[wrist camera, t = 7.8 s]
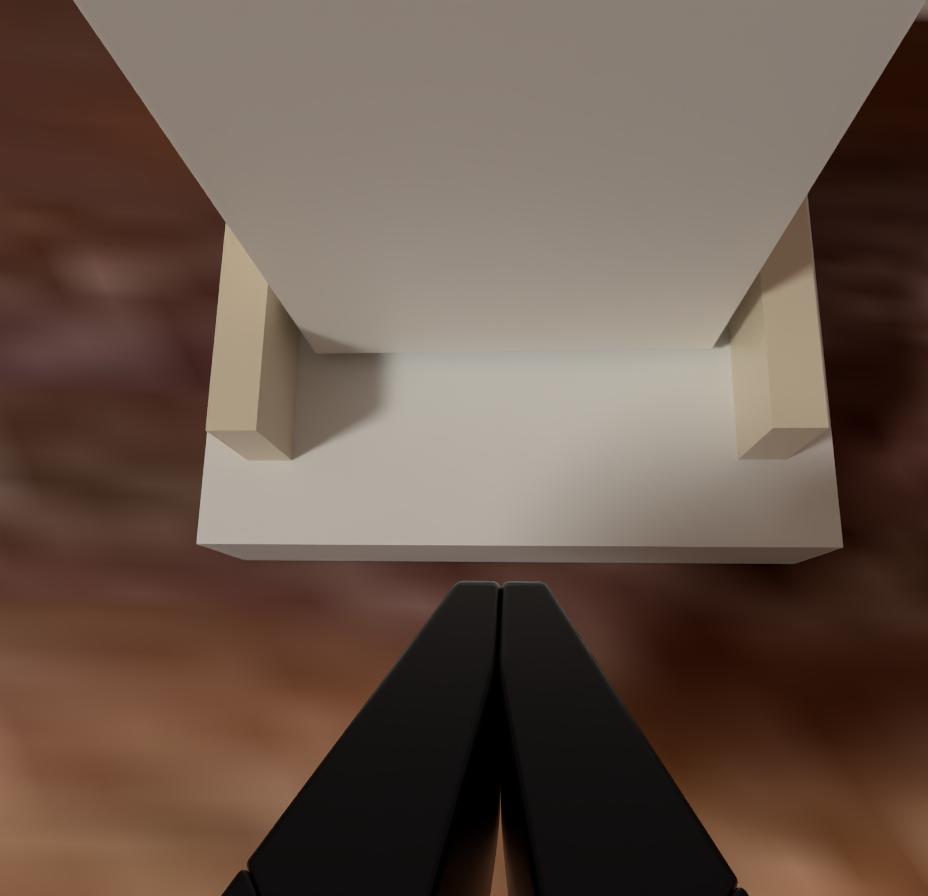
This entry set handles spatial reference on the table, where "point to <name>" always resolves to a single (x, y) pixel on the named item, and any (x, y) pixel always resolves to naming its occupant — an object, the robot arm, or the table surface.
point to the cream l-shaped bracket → (524, 440)
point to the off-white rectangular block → (505, 154)
